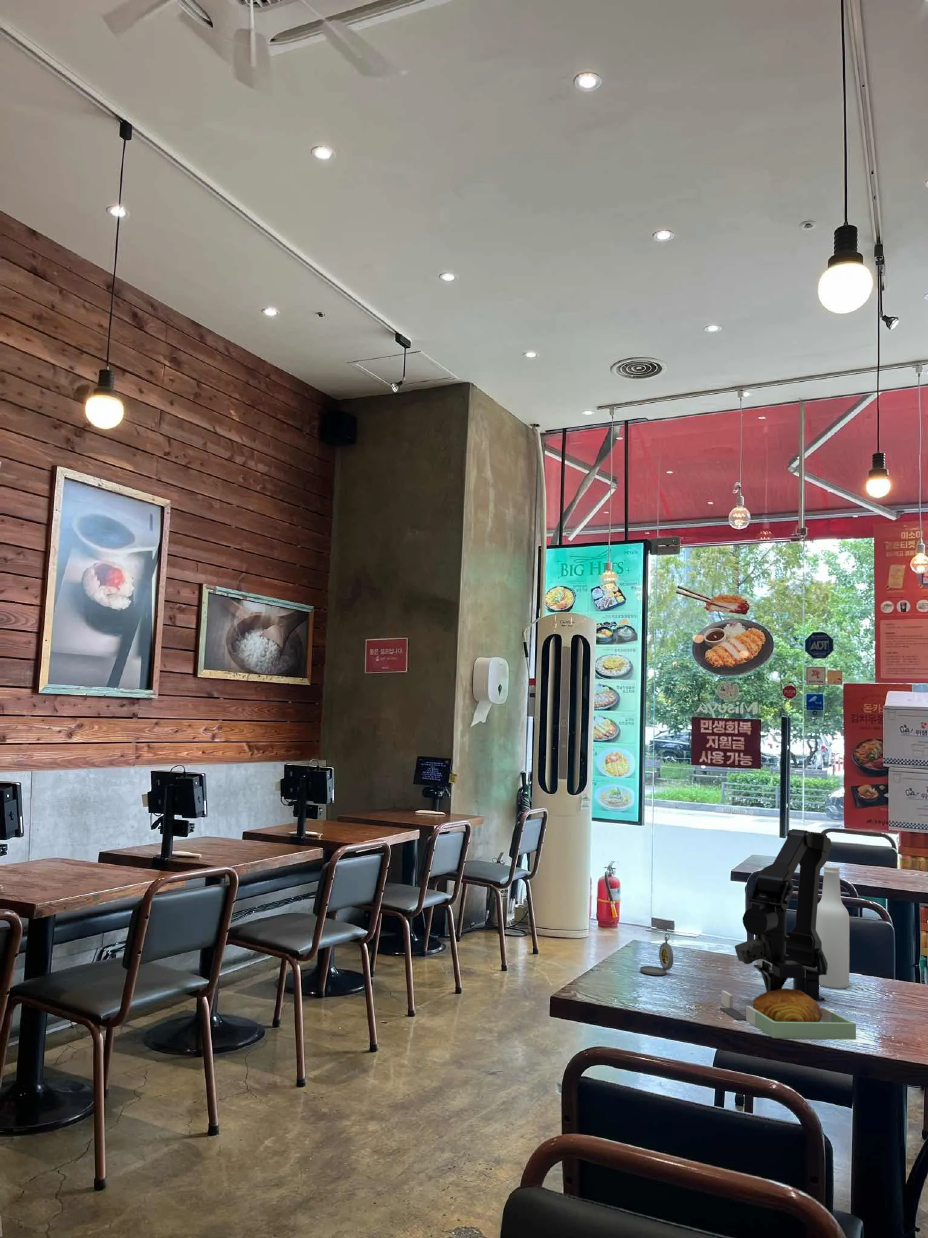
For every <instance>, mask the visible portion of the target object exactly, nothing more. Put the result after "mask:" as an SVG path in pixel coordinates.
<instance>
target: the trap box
mask: <svg viewBox="0 0 928 1238" xmlns="http://www.w3.org/2000/svg"><path fill="white" fill-rule="evenodd" d="M733 997H734V995H732V994H731V993H729V992H728V991H726V990H721V1005H722V1006H724V1007H720V1008H719V1010H721V1011H722V1012H724V1014H727V1015H728V1016H730V1017H731V1018H733V1019H734V1020H735V1021H746V1022H747V1023H749V1024H751V1025H752V1026H754V1027H756V1028H757V1029H759V1030H760V1029H761V1030H760V1031H762V1032H763V1031H764V1032H763V1033H765V1034H766V1035H768V1036H769V1037H771V1038H772V1039H810V1038H813V1040H814V1039H818V1040H819V1039H824V1040H827V1039H828V1040H829V1039H830V1040H831V1039H833V1040H834V1039H835V1040H836V1039H837V1040H854V1039H855V1040H856V1039H857V1023H856V1022H854V1021H851V1020H849V1019H847V1018H846V1017H844V1016H842V1015H840V1014H838V1013H836V1012H834V1011H832V1010H830V1009H829V1008H827V1007H825V1006H820V1008H821V1010H822V1017H821V1019H820V1020H819V1022H775V1021H773V1020H772V1019H770V1018H768V1017H767V1016H765V1015H764V1014H762V1013H760V1012H759V1011H757V1010H755V1009H754V1008H753V1007H752V1006H750V1005H746V1006H745V1010H746V1011H745V1015H744V1014H742V1012H739V1011H738V1010H736V1009H735V1008H733V1006H734V1003H733V1001H734V998H733Z"/></svg>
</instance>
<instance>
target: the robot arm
mask: <svg viewBox="0 0 928 1238" xmlns="http://www.w3.org/2000/svg"><path fill="white" fill-rule="evenodd" d="M831 849H832V840H831V838H830V837H828V836H827V834H826V833H824V832H816V831H809V830H805V829H797V828H791V829H789V830H788V831H787V834H786V839H785V841H784V842H783V845H782V847H781V848H780V851H779V852H778V854H777V856H776V858H775V859H774V861H773V863H772V864H769V865H767V866H766V867H764V868H762V870H760V872H759V874H758V875H757V876H756V877H755V880H754V883H753V886H752V890H751V893H750V896H749V898H748V899H749V903H751V908H748V909H747V910H745V912H744V913H743V916H742V924H743V927H744V929H745V930H746V931H747V932H748V933H749V934H751V935H754V939H750V940H747V941H744V942H742V943H738V944H736V945H734V949H735V953H736V957H737V960H738V962H742V963H744V964H745V965H751V964H752V963H753V962H756V964H753V967H754V968H755V969H756V970H757V971H758V972H759V974H760V975H761V976H762V980H763V983H764V987H765V992H768V991H774V990H778V989H783V987H784V985H785V983H786V981H787V980H788V979H792V981H793V982H792V983H793V986H792V987H793V988H792V989H793V990H800V991H802V992H804V993H805V994H807V995H808V996H810V997H811V998H812V999H814V1000H815V1001H825V1000H826V998H825V997H823V996H821V995H820V986H819V975H827V969H828V968H827V966H828V963H827V961H826V958H825V956H824V953H823V951H822V942H821V940H820V938H819V936H818V934H817V932H816V918H817V905H818V903H819V902H818V901H819V891H820V889H819V888H820V878H821V877H820V876H821V869H822V868H824V867H823V866H824V865H826V863H827V862H828V861H829V855H830V852H831V851H832V850H831ZM798 866H799V874H798V875H799V877H798V888H797V899H796V900H797V901H796V909H795V911H796V912H795V921H794V926H793V928H792V929H791V930H790V931H787V914H788V913H787V909H788V908H790V907H789V903H790V901H791V898H792V895H793V893H794V884H793V883H794V882H793V880H792V878H793V876H794V873H795V872H796V871H797V868H798ZM816 967H817V968H816Z"/></svg>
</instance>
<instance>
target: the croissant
mask: <svg viewBox="0 0 928 1238" xmlns="http://www.w3.org/2000/svg"><path fill="white" fill-rule="evenodd" d="M752 1006H753V1007H752V1008H754V1009H755V1010H757V1011H759V1012H760V1013H762V1014H764V1015H765V1016H767V1017H768V1018H770V1019H772V1020H773V1021H775V1022H820V1019H821V1017H822V1010H821V1006H820V1004H819V1003H818V1002H817V1000H814V999H812V998H811V997H810V996H808V995H807V994H805V993H804V992H802V991H800V990H793V988H792V989H791V988H782V989H778V990H774V991H768V992H767V991H765V992H763V993H761V994H760V995H758V996H756V997H755V998H754V999H753V1000H752Z"/></svg>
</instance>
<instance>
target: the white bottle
mask: <svg viewBox="0 0 928 1238" xmlns="http://www.w3.org/2000/svg"><path fill="white" fill-rule="evenodd" d="M822 868H823V870H822V871H823V879H822V892H821V898H820V901H819V902H818V905H817V918H816V932H817V934H818V936H819V938H820V940H821V942H822V951H823V953H824V956H825V958H826V961H827V963H828V966H827V968H828V969H827V975H819V985H820V986H819V987H822V986H824V987H823V988H828V989H833V988H838V989H837V990H842V989H843V988H845V989H847V988H848V986H849V985H850V915H849V911H848V909H847V908H846V906H845V905H844V904H843V901H842V894H841V881H840V880H841V879H840V873H841V871H840V869H841V868H840V866H839V865H831V864H824V866H823V867H822ZM816 968H817V967H816ZM843 990H844V989H843Z"/></svg>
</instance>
